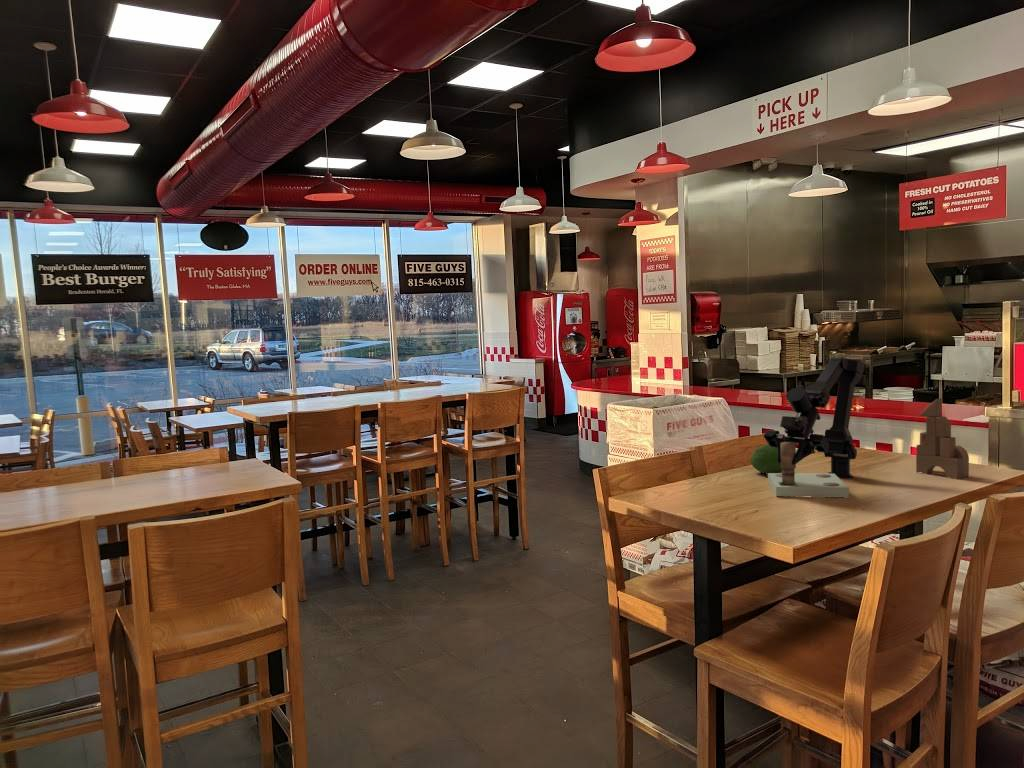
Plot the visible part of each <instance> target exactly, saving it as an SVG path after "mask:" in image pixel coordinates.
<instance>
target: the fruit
mask: <svg viewBox="0 0 1024 768" xmlns="http://www.w3.org/2000/svg"><path fill="white" fill-rule="evenodd" d="M750 463H751V465H752V467H753V468H754V469H755V470H757V472H759V473H762V474H764V473H782V468H781V463H778V448H777V447H771V446H769V444H764V445H760V446H759V447H757V448H755V450H754V451H753V452H752V453H751V456H750Z"/></svg>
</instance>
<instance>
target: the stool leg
mask: <svg viewBox="0 0 1024 768" xmlns="http://www.w3.org/2000/svg"><path fill="white" fill-rule="evenodd" d="M780 446H781V468H782V484H783V485H788V486H791V485H795V471H796V470H795V469H796V468H797V467H796V466H797V464H795V465H793V464H792V461H793V458H794V456H795V454H796V451H797V450H796V444H795V443H793V442H781V443H780Z"/></svg>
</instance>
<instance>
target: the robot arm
mask: <svg viewBox="0 0 1024 768" xmlns="http://www.w3.org/2000/svg"><path fill="white" fill-rule="evenodd" d="M864 372H865V364H864V362H862V361H861V359H859V358H858V359H857V358H855V359H854V358H852V359H851V358H850V359H849V358H845V357H831V358H829V359H828V361H827V364H826V366H825V367H824V369H823V370H822V372H821V373H820V375H819V377H818V378H817V379H816V380H815V382H814V383H812V384H809V385H807V386H806V387H805V386H804V385H803V384H797V385H796V387H792V388H791V389H790V390H788V392H786V394H785V399H786V400H787V402H788V403H789V405H790V407H791V409H792V410H793V412H795V413H796V415H795V416H789V415H788V416H787V415H781V416H782V417H781V420H780V425H779V426H780V427H781V428H784V433H785V434H787V435H785V434H783V433H781V432H780V431H779V430H775V429H774V430H773V429H766V430H765V431H764V434H763V438H764V439H765V441H766V442H767V445H769V446H771V447H777V448H778V463H781V446H780V443H781V442H793V443H795V445H798V447H797V450H796V454H795V456H794V458H793V461H792V464H793V465H795V464H796V465H797V464H798V463H799V462H801V461H802V460H803V459H805V458H807V457H808V456H810V455H812V454H815V453H816V451H817V452H818V453H823V455H824V457H825V458H830V471H828V473H827V474H835V475H836V476H837V477H838V478H854V475H853V474H852V473H851V460H855V459H857V454H858V450H857V449H856V447H855V445H854V443H853V436H852V434H851V432H850V429H849V426H850V425H849V424H850V419H851V413H852V407H853V406H852V405H853V400H854V394H855V387H856V385H857V384H858V383H859V382H860V381H861V380H862V377H863V373H864ZM836 382H837V383H838V386H837V394H836V399H835V408H834V412H833V413H834V415H833V418H832V425H831V427H830V428H829V429H825V431H824V434H820V433H819V434H817V433H815V432H814V429H813V427H814V426H815V424H816V421H821V415H820V411H819V410H818V408H820V409H823V408H826V407H827V406H828V404H829V401H830V399H831V395H830V391H831V390H832V388H833V386H834V385H835V383H836Z"/></svg>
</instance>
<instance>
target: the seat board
mask: <svg viewBox="0 0 1024 768" xmlns="http://www.w3.org/2000/svg"><path fill="white" fill-rule="evenodd" d="M768 482H769V483H768ZM767 483H768V485H769V484H770V485H769V487H770V486H771V487H772V488H771V487H770V488H771V490H772V489H773V490H772V492H773V491H774V492H773V493H775V494H774V496H775V495H776V496H811V497H810V498H825V497H844V498H843V499H849V497H850V493H849V492H850V491H849V490H850V489H849V486H847V484H846V483H845V482H844V481H843V480H842V479H841V478H840V477H837V476H836V475H835V474H828V473H814V472H813V473H800V472H799V473H798V472H797V473H795V485H791V486H788V485H783V484H782V473H768V474H767ZM776 496H775V497H776Z"/></svg>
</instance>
